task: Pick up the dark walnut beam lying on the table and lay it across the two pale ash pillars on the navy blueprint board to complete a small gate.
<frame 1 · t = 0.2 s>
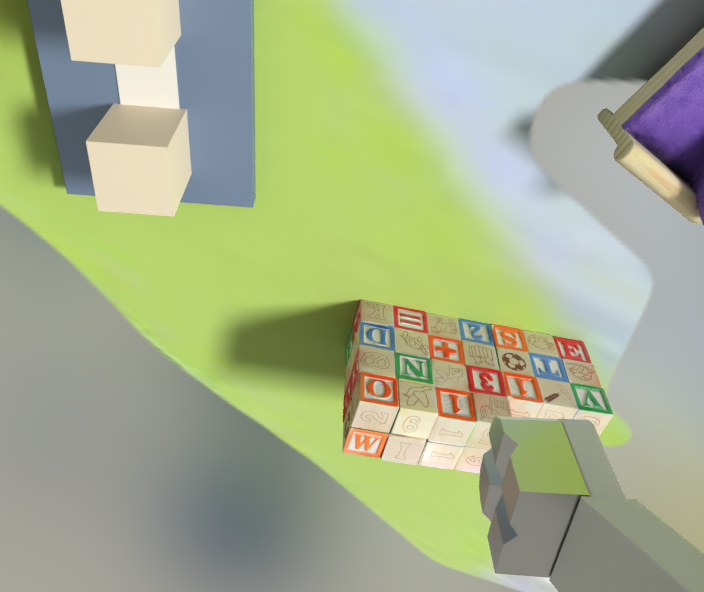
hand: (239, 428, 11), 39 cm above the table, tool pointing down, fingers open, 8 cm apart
stack of blocks: (463, 342, 62), on the table
blueprint board: (151, 62, 46), on the table
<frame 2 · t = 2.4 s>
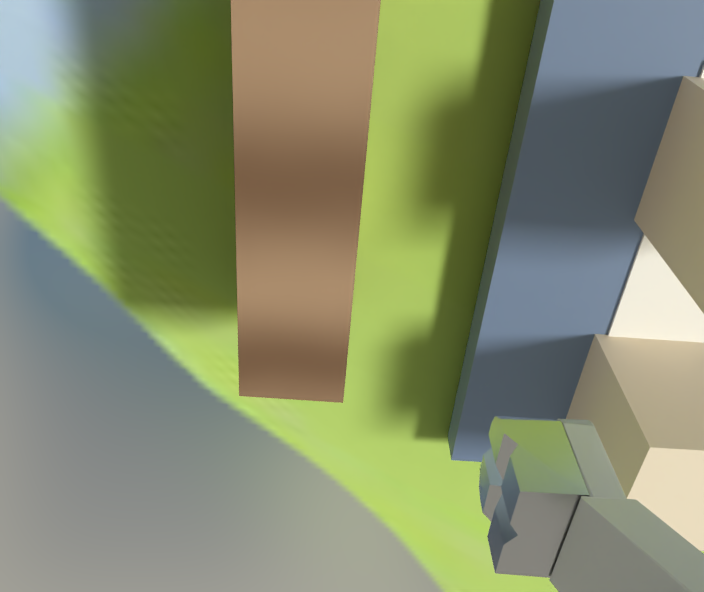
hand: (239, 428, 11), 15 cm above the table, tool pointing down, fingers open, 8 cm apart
walnut beam: (312, 109, 23), on the table
blueprint board: (664, 264, 26), on the table
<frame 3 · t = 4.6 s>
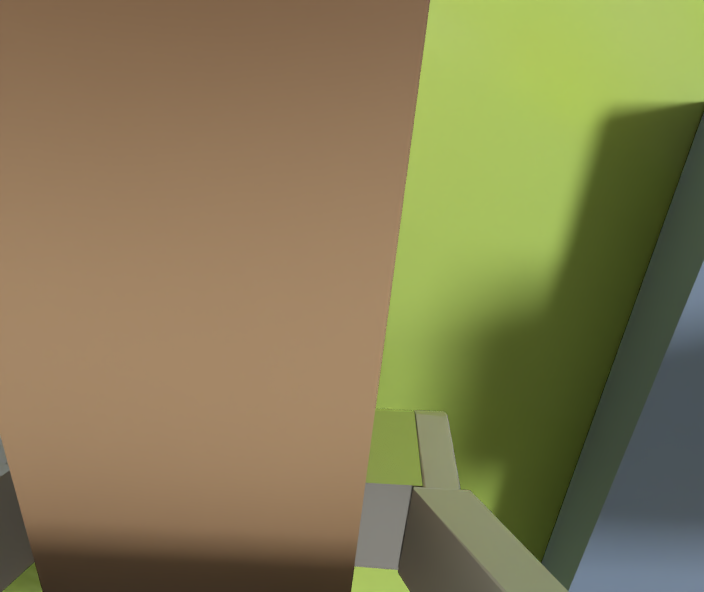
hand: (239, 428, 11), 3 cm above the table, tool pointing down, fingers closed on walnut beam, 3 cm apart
walnut beam: (259, 329, 13), on the table, touching gripper
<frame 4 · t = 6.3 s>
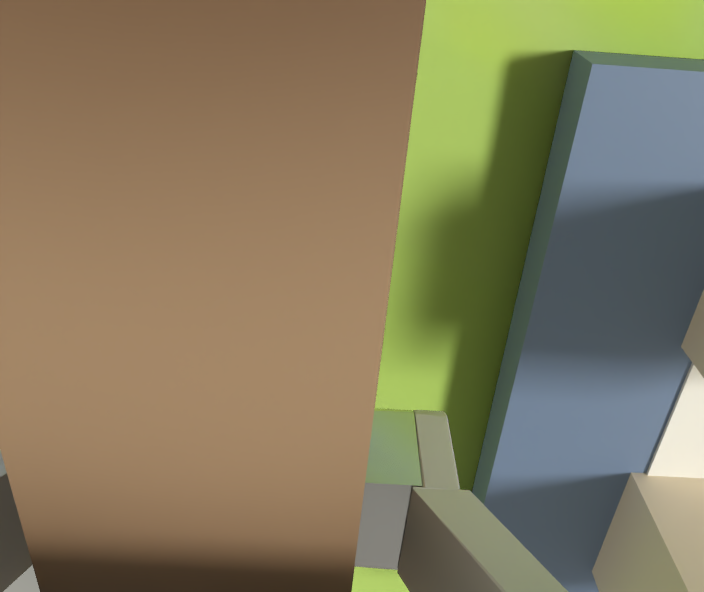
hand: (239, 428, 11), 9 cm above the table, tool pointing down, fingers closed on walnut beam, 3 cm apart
walnut beam: (259, 331, 13), point 6 cm above the table, touching gripper
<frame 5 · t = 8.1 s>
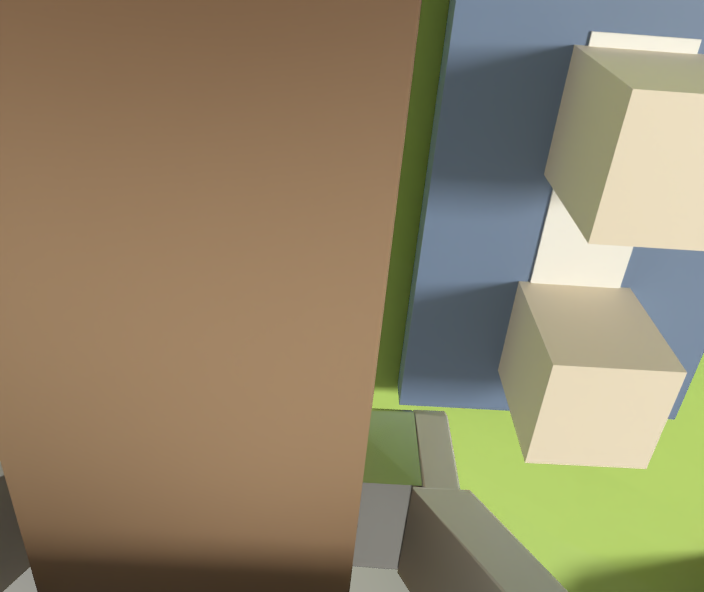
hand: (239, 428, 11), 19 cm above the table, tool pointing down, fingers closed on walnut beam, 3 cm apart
walnut beam: (258, 333, 13), point 16 cm above the table, touching gripper
blueprint board: (578, 218, 30), on the table
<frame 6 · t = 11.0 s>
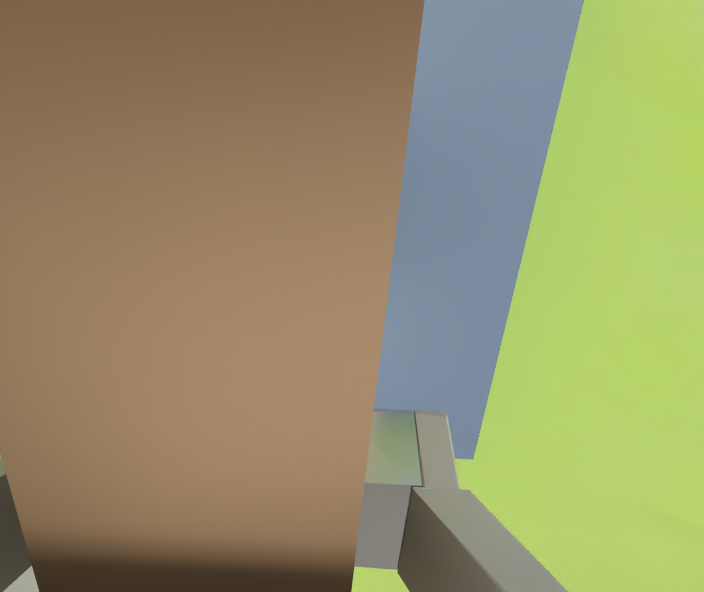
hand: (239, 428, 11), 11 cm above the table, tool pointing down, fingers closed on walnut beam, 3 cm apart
walnut beam: (260, 335, 13), point 8 cm above the table, touching gripper
blueprint board: (292, 172, 20), on the table
when the fingers open (11 cm above the table, at t = 11.3 s): walnut beam stays where it is, resting on blueprint board.
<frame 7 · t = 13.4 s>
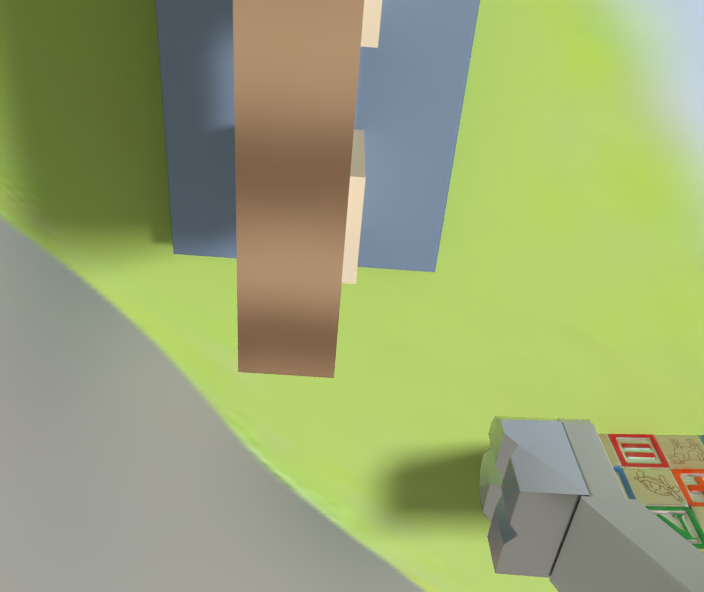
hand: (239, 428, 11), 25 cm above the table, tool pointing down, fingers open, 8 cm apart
walnut beam: (305, 111, 25), point 7 cm above the table, touching blueprint board
blueprint board: (315, 64, 32), on the table
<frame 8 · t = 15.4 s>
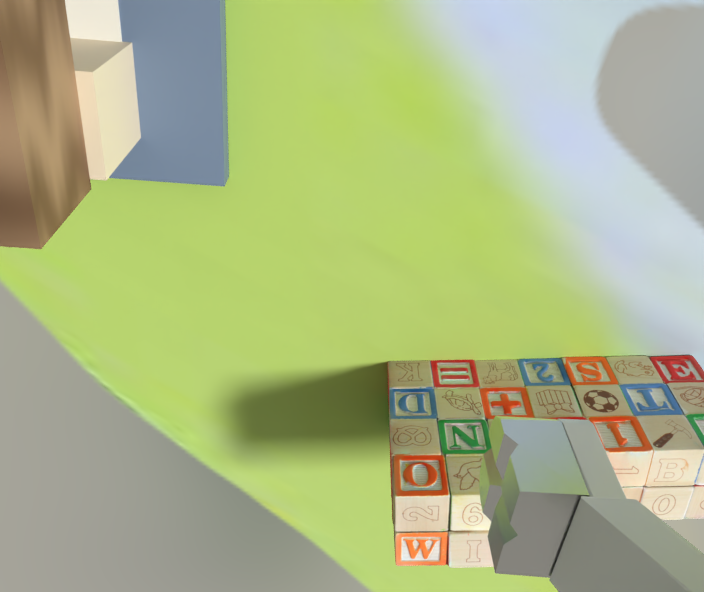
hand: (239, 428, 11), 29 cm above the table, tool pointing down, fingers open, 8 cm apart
stack of blocks: (533, 388, 48), on the table
walnut beam: (22, 5, 27), point 7 cm above the table, touching blueprint board
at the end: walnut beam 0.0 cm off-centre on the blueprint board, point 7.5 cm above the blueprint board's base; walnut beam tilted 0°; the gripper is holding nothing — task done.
